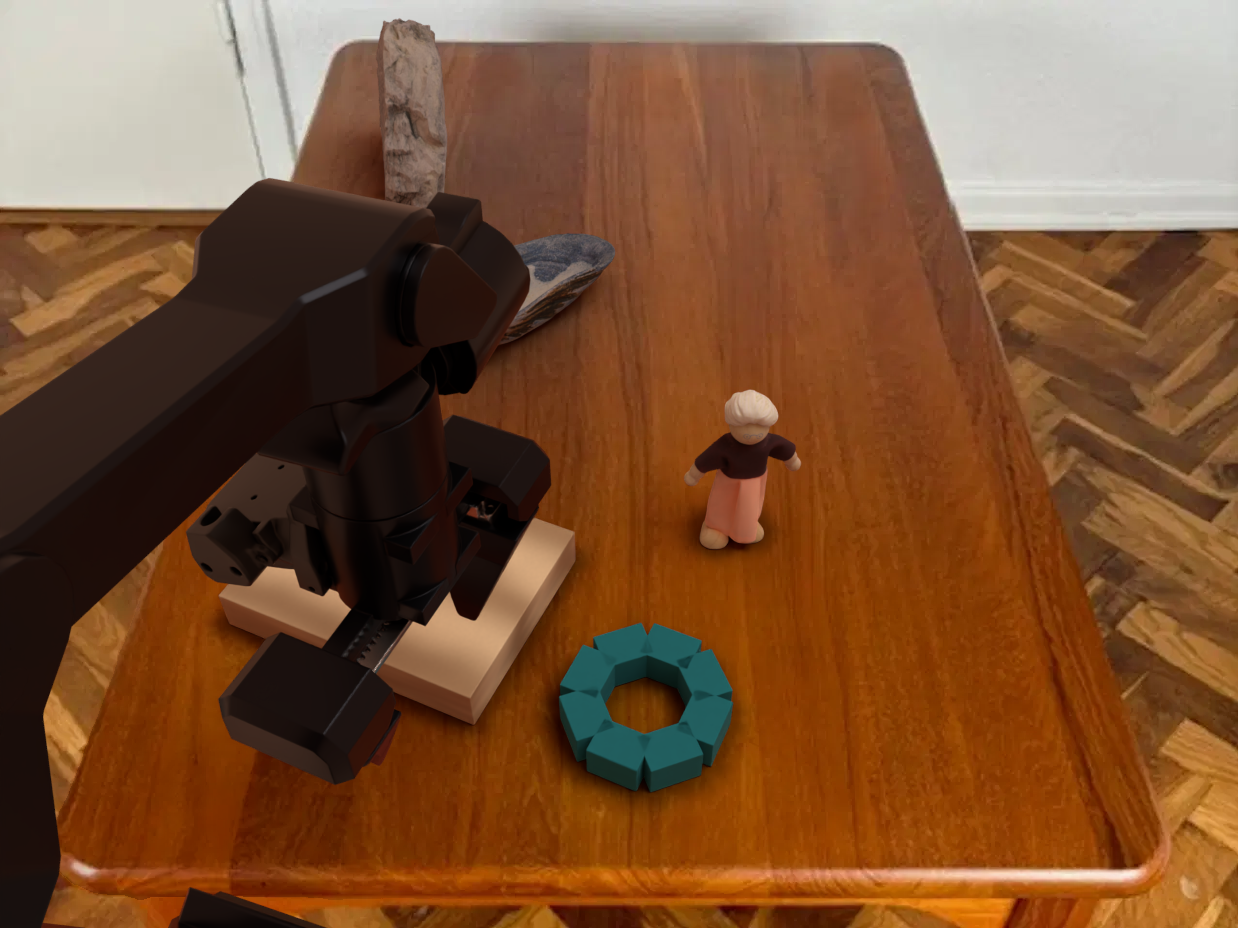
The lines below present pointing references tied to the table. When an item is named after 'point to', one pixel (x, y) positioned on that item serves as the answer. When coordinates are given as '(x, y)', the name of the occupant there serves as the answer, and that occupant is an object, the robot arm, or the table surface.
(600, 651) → the ring
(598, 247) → the seashell
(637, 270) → the table surface
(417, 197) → the decorative rock
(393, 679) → the board
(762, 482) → the grandmother figurine
